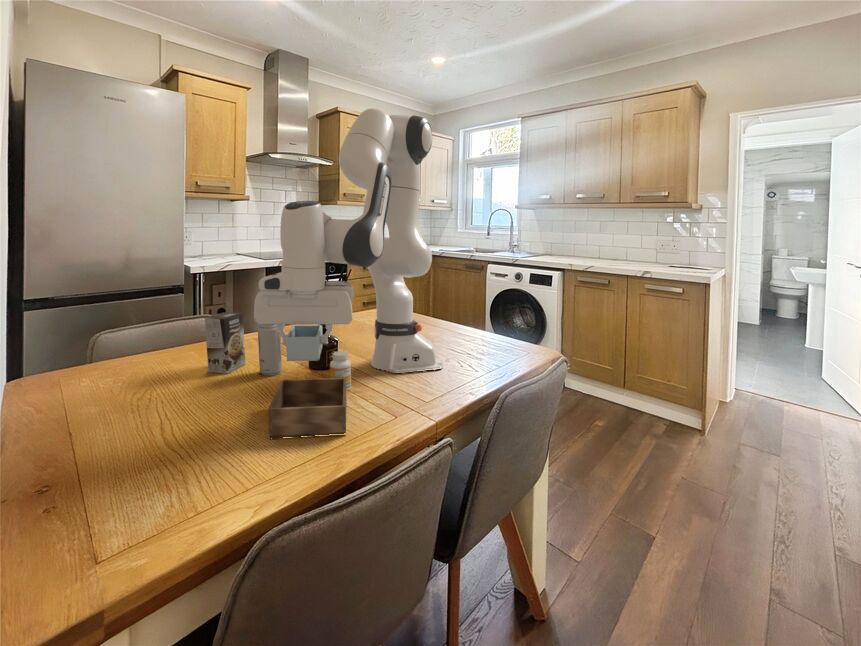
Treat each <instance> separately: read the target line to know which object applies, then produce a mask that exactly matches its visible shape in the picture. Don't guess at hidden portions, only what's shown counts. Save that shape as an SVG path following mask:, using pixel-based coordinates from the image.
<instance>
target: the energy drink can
mask: <svg viewBox="0 0 861 646" xmlns="http://www.w3.org/2000/svg"><path fill="white" fill-rule="evenodd" d="M281 339H282V336H281V335H280V333H279V332H278V331H277V324H258V327H257V342H258V343H257V344H258V345H257V346H258V359H259V360H258V361H259V362H258V363H259V364H258V365H259V372H260V373H261V375H263V376H277V375H279V374H281V371H282V370H283V364H282V363H283V362H282V340H281Z"/></svg>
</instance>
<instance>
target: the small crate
mask: <svg viewBox="0 0 861 646" xmlns="http://www.w3.org/2000/svg"><path fill="white" fill-rule="evenodd" d="M321 335H323V324H292V327H291V328H290V330H289V332H288V333H287V337H286V345H285V346H286V347H285V349H286V362H310V361H311V362H312V361H313V362H314V361H315V362H317V361H320V358H321V355H322V350H323V345H324V344H320V341H321V340H320V336H321Z"/></svg>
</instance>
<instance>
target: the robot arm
mask: <svg viewBox="0 0 861 646" xmlns="http://www.w3.org/2000/svg"><path fill="white" fill-rule="evenodd" d="M432 144H433V130H432V127H431V124H430V123H429V121H428V120H427V118H425V117H422V116H419V115H416V114H415V115H411V116H410V115H404V114H403V115H402V114H389V115H388V114H387V113H386V112H384V111H383V110H381V109H378V108H367V109H365V110H363V111H362V112H361V113H360V114H359V115H358V117H357V118H356V119H355V121H354V122H353V124H352V125H351V126H350V128H349V130H348V132H347V134H346V136H345V138H344V141H343V142H342V145H341V147H340V150H339V154H338V165H339V167H340V170H341V173H343V175H344V176H345V177H346V179H347V180H349V182H350V183H352V184H354V186H357V187H358V188H360V189H363V190H366V196H365V201H364V206H363V211H362V214H361V215H360V216H359V217H356V218H353V219H343V218H341V219H340V218H332V217H331V216H330V215H327V214H326V213H325V211H324V210H323V209H322V204H321V203H320V202H318V201H314V200H302V201H301V200H298V201H291V202H288V203H286V204H284V206H283V208H282V212H281V217H280V230H279V231H280V236H279V238H280V246H281V250H282V261H281V270H280V271H281V272H280V271H279V272H275V273H273V274H270V275H266V276H265V277H262V278H261V279H259V281H258V289H259V290H260V291H258V293H257V294H256V296H255V299H254V307H253V320H254V321H255V322H256V324H258V325H260V324H277V331H278V332H279V333H280V335H281V339H282V345H285V346H286V337H287V335H288V333H287V332H286V331H285V330H284V328H285V327H286V325H325V329H326V331H325V333H324V334H322V335H321V336H320V340H321V341H320V344H323V345H328V343H329V340H328V339H329V335H330V334H331V332H332V330H333V326H334V325H350V324H351V322H352V321H353V306H352V302H353V301H354V299H355V288H354V286H353V285H352V284H351V283H349V282H348V281H346V280H340V281H337V280H326V263H333V264H344V265H351V266H355V267H361V268H367V270H368V271H369V273H370V277H371V279H372V282H373V287H374V291H375V297H376V298H375V299H376V300H375V301H376V305H375V306H376V319H375V322H374V338H375V342H374V349H373V356H372V360H371V362H370V365H371V367H373V368H374V369H376V368H377V370H379V369H381V370H380V371H384V370H387V371H386V372H388V371H390V372H389V373H391V372H393V373H392V374H394V373H402V372H410V371H417V370H425V369H433V368H440V367H442V366H443V367H444V361H443V359H442V358H441V357H440V356H438V355H437V351H436V348H435V345H434V344H433V342H431V341H430V340H429V339H428V338H426V336H424V335H422V334H421V333H420V332H421V331H422V330H423V326H422V325H421V323H419V322H418V321H416V320H415V319H413V316H414V314H413V313H414V312H413V311H414V310H413V308H414V297H413V294H412V292H411V290H410V289H409V288H408V287H407V285H406V283H405V279H404V278H416V277H423V276H424V275H425V274H427V273H428V272H429V270H430V269H431V265H432V262H433V254H432V251H431V249H430V247H429V246H428V245H427V243H426V242H425V240H424V239H423V236H422V232H421V228H420V221H419V220H420V219H419V213H420V212H419V209H420V194H421V183H422V181H421V178H422V177H421V174H422V173H421V165H420V164H421V163H422V162H423V160H424V159H425V158H426V157H427V156H428V154H429V153H430V151H431V149H432ZM386 226H387V230H388V237H387V236H385V229H386ZM439 364H440V365H439ZM402 374H403V373H402Z"/></svg>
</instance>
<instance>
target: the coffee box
mask: <svg viewBox="0 0 861 646" xmlns="http://www.w3.org/2000/svg"><path fill="white" fill-rule="evenodd" d="M204 324H205V325H204V326H205V341H206V342H205V343H206V354H207V355H206V356H207V357H206V358H207V370H208V372H209V373H214V374H215V373H217V374H223V373H224V374H225V375H228V374H230V373H232V372H234V371H236V370H238V369H240V368H242V367H245V366H246V351H245V350H246V349H245V348H246V347H245V332H244V314H243V312H225V311H224V312H221V313H220V312H219V313H216V314H213V315H210V316H205V317H204Z"/></svg>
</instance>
